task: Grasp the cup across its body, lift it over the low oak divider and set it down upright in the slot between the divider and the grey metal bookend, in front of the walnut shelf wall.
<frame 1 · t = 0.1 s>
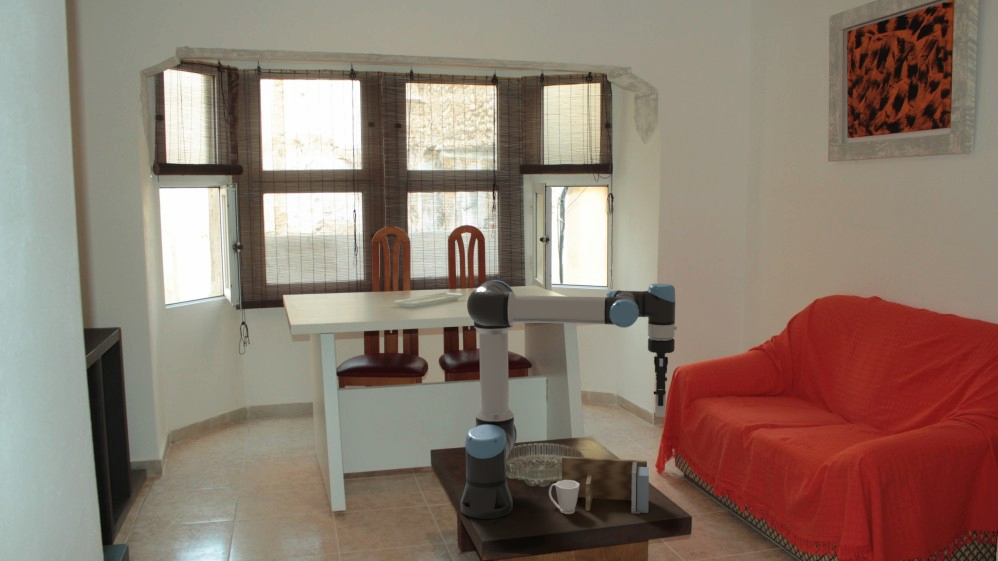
hand: (660, 409, 240), 28 cm above the table, fingers open, 13 cm apart
cup: (563, 510, 239), on the table
bookend: (634, 507, 240), on the table
shelf wall: (603, 497, 247), on the table
divider: (588, 504, 242), on the table
shelved book: (642, 507, 239), on the table
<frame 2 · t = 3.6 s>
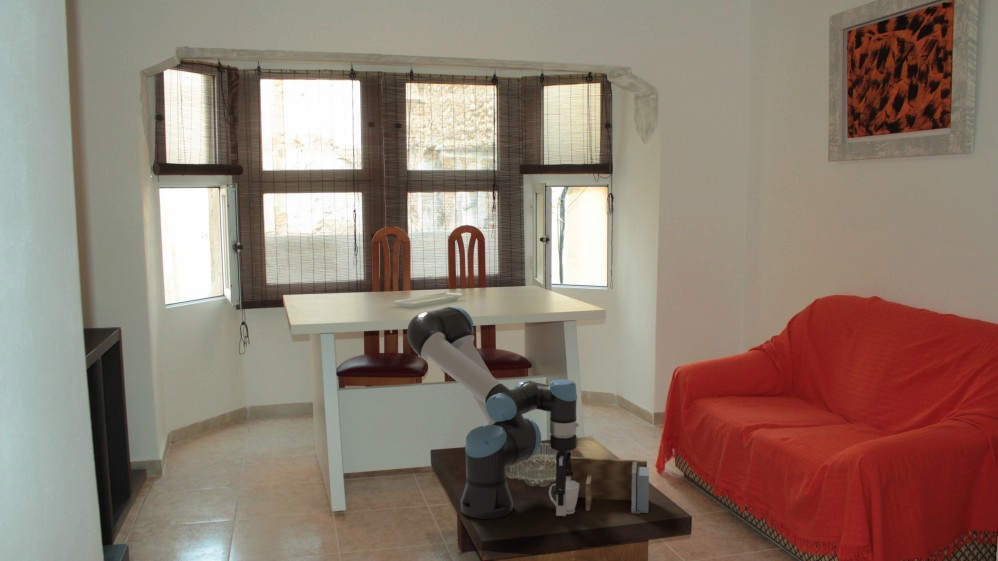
hand: (563, 506, 239), 1 cm above the table, fingers open, 12 cm apart
nothing on the table moved.
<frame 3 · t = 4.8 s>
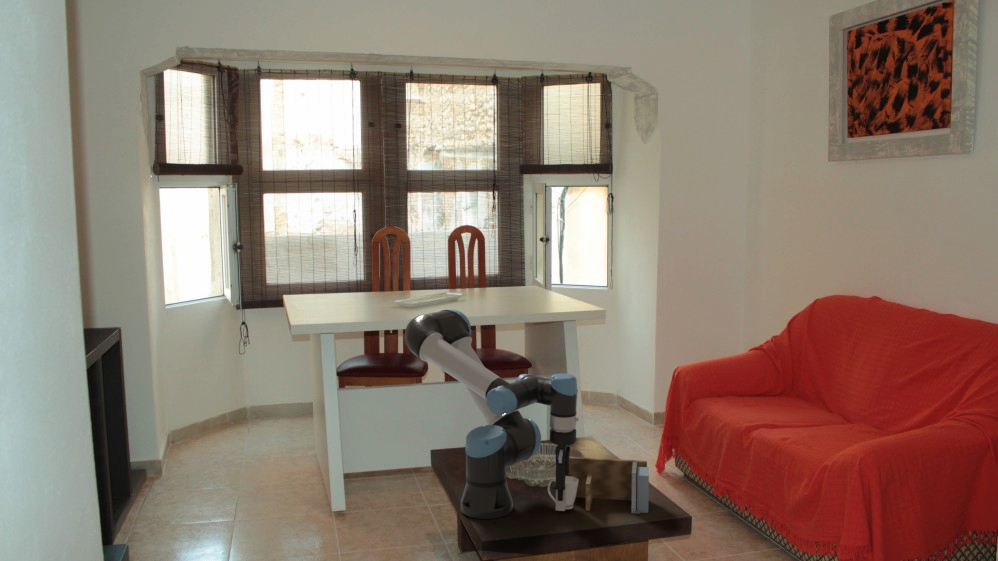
hand: (561, 505, 239), 1 cm above the table, fingers closed on cup, 6 cm apart
cup: (561, 506, 239), point 1 cm above the table, touching gripper
when the fingers open (1 cm above the table, at t = 9.4 s): cup moves 3 cm, on the table.
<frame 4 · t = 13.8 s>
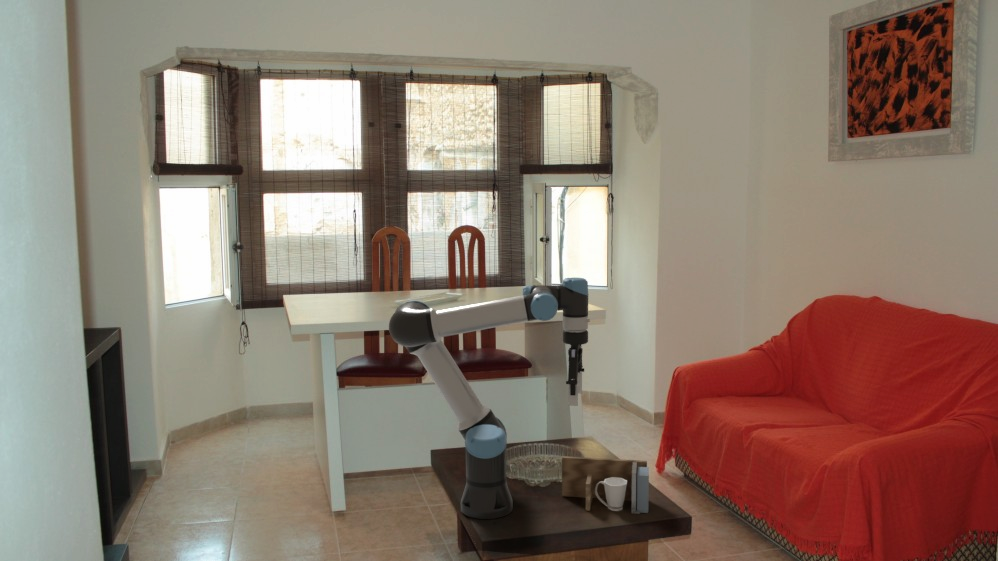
hand: (575, 399, 249), 29 cm above the table, fingers open, 13 cm apart
cup: (610, 507, 240), on the table
at the end: cup inside the target area (1.3 cm from its centre), on the table; cup tilted 0°; the gripper is holding nothing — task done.
